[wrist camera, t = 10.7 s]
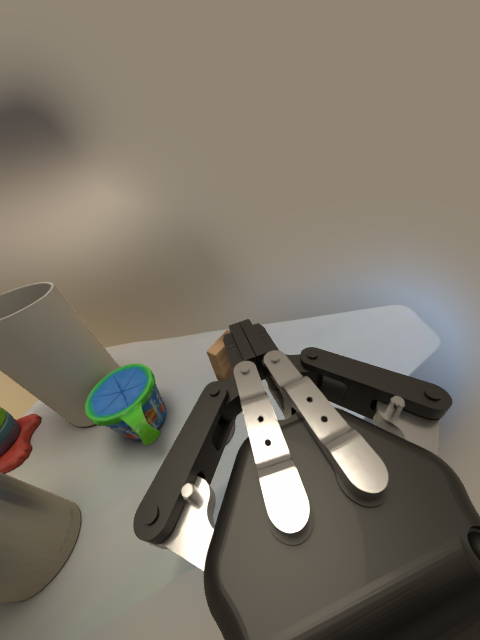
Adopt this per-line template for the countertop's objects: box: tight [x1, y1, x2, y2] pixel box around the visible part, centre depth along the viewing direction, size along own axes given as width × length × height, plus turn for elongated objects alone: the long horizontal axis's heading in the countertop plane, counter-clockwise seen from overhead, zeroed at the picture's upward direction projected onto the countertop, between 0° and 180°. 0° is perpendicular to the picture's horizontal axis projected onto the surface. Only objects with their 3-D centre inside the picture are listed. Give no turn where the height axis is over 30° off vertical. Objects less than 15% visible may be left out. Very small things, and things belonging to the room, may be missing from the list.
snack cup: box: [85, 364, 166, 446], centre depth 38 cm, size 16×10×10 cm
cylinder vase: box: [0, 282, 120, 427], centre depth 39 cm, size 12×12×25 cm
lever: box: [207, 330, 233, 382], centre depth 37 cm, size 18×4×14 cm, turn 146°
